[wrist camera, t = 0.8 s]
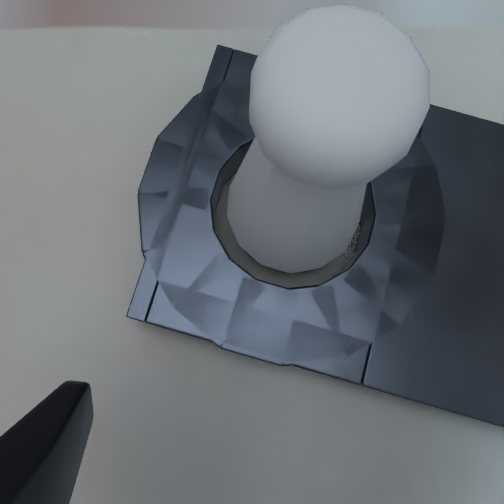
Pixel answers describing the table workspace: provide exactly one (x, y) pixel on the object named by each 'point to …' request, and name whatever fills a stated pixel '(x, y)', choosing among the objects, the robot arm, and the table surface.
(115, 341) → the table surface
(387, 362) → the plate
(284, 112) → the white rounded peg
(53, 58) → the table surface
